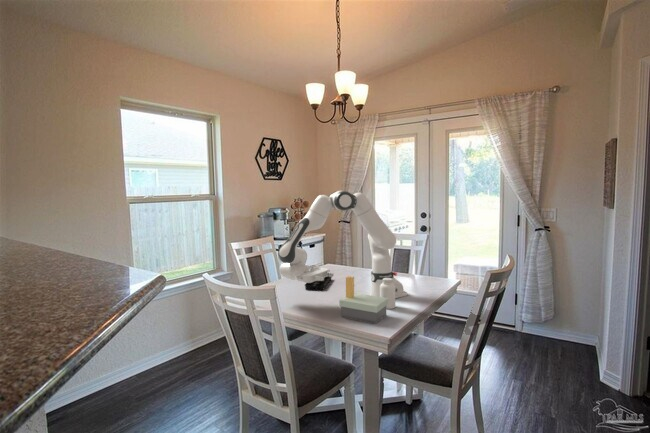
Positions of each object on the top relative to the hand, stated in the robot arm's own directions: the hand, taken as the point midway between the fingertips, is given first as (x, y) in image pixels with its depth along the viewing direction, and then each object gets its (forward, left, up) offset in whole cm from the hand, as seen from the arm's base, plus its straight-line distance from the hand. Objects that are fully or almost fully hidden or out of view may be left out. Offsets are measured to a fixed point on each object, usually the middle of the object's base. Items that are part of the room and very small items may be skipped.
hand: (328, 277), depth 183 cm
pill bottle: (-30, +9, -17) cm, 36 cm away
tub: (-12, +16, -17) cm, 26 cm away
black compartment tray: (-14, -48, -18) cm, 53 cm away
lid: (-12, +16, -12) cm, 23 cm away
